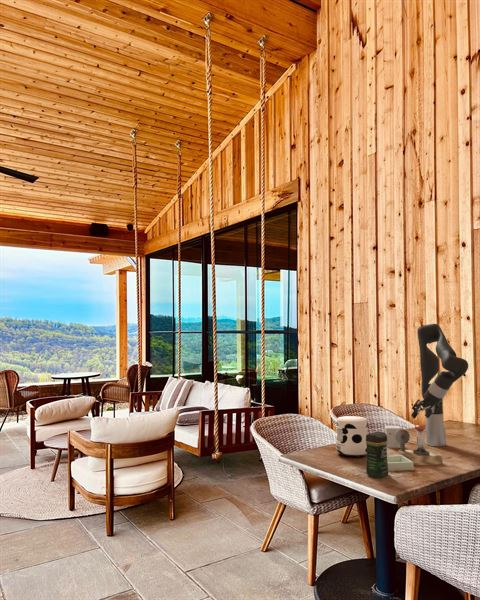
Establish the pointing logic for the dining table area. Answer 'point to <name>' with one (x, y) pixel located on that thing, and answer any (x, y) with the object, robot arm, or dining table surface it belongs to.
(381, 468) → the coffee jar
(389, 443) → the small box
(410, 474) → the dining table surface
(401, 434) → the block
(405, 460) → the tray
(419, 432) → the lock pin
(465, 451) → the dining table surface
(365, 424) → the white printed canister
